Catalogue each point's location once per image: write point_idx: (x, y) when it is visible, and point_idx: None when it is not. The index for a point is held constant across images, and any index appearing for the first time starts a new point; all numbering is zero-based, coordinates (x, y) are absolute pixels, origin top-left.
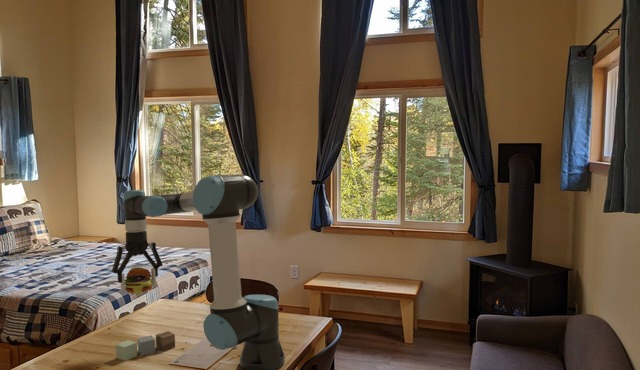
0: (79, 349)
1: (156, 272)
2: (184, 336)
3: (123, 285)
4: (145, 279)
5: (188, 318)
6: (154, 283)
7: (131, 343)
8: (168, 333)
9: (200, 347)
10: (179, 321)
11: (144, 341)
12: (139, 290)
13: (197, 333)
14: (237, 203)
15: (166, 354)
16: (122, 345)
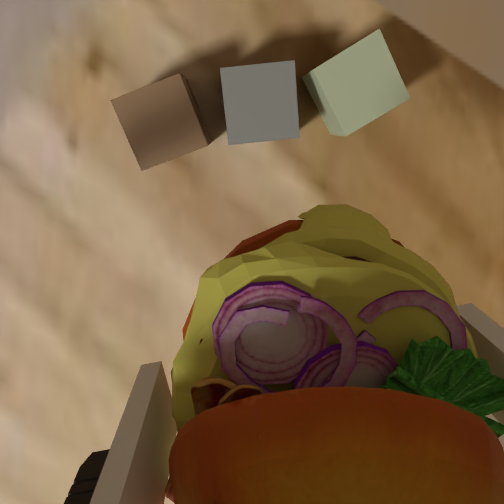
0: (499, 283)
1: (84, 495)
2: (75, 223)
3: (499, 334)
4: (249, 378)
5: (42, 441)
6: (150, 378)
7: (338, 69)
8: (142, 128)
9: (8, 27)
10: (84, 422)
11: (273, 65)
12: (330, 206)
13: (12, 233)
14: None
15: (175, 21)
16: (383, 62)
